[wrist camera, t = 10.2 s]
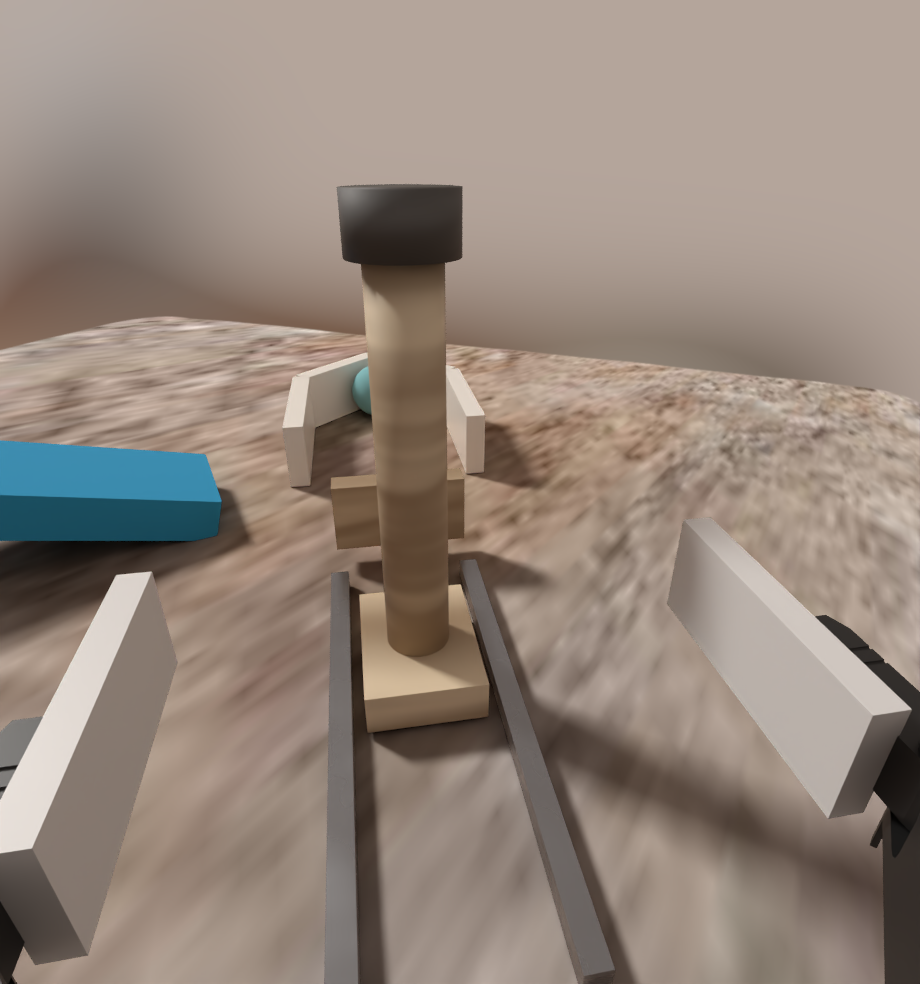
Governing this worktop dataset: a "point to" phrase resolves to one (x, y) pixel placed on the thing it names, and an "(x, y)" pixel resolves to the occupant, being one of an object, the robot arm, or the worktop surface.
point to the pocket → (331, 398)
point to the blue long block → (105, 494)
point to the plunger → (408, 462)
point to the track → (533, 776)
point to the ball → (362, 390)
